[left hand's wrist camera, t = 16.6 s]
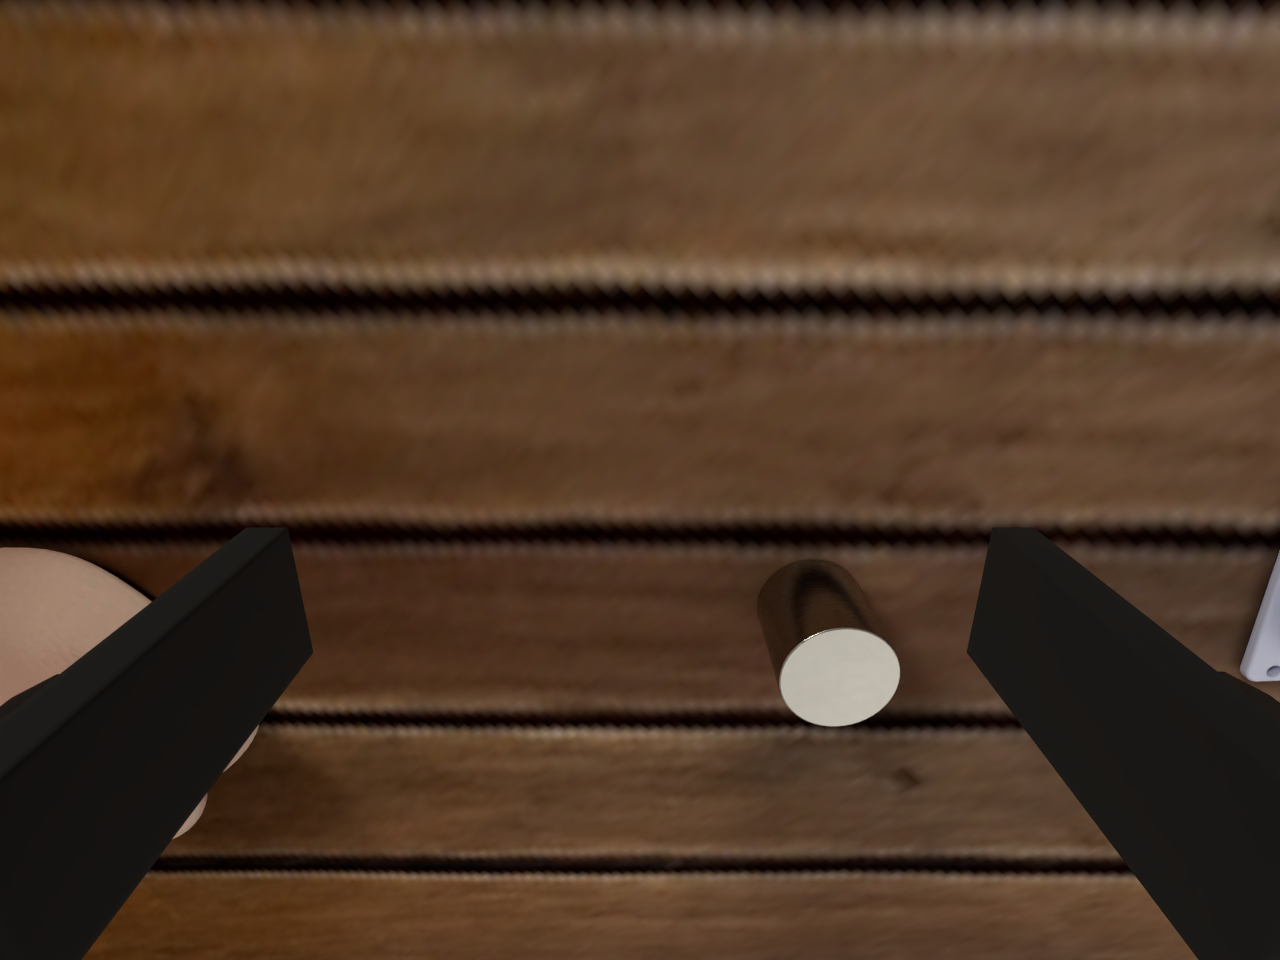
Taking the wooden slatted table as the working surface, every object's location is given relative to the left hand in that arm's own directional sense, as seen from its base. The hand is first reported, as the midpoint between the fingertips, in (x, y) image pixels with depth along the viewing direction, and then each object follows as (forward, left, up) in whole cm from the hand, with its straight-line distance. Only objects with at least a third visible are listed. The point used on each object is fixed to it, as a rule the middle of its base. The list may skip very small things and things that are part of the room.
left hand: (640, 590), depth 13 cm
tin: (-6, +7, -11) cm, 15 cm away
